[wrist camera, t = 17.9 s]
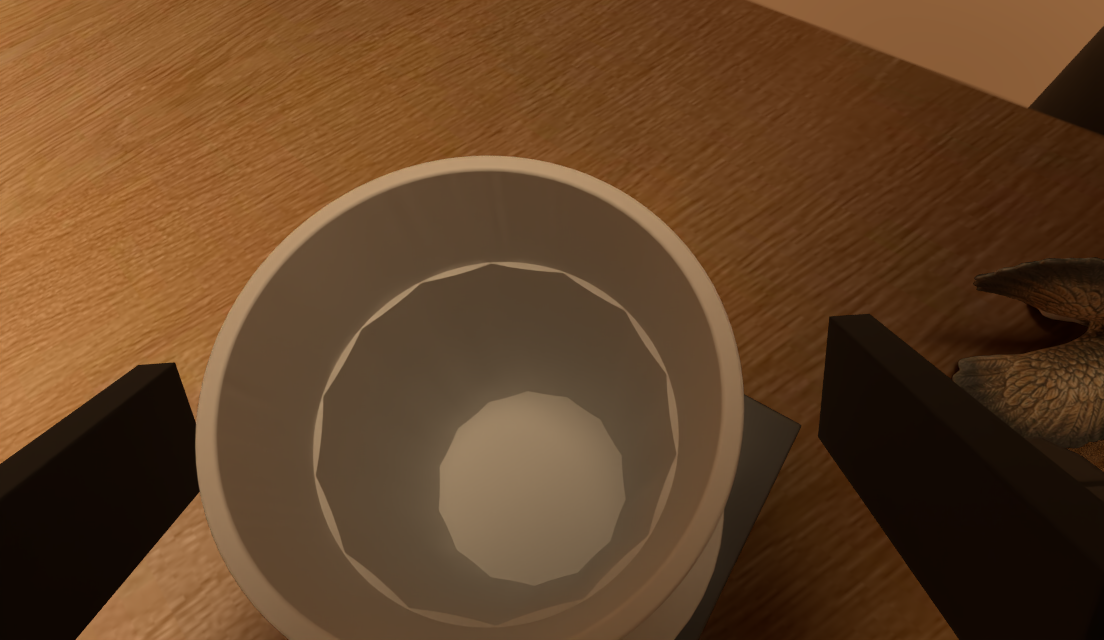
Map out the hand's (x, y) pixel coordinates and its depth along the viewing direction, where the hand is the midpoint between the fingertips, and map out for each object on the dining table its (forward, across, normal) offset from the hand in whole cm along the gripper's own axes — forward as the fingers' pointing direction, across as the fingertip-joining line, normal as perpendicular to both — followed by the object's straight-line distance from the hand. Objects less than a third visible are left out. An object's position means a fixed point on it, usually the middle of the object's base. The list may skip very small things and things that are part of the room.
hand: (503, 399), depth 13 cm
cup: (+6, 0, -6) cm, 9 cm away
